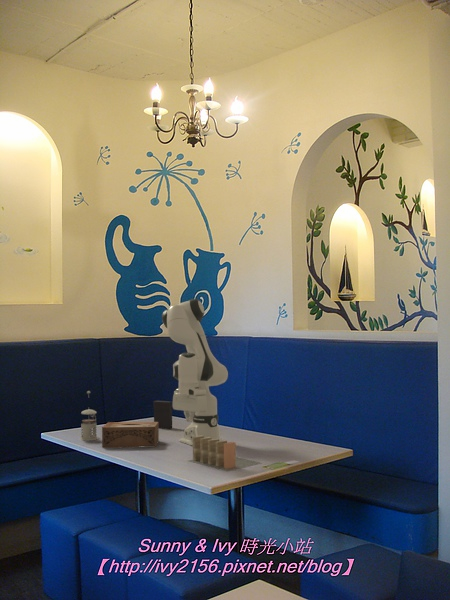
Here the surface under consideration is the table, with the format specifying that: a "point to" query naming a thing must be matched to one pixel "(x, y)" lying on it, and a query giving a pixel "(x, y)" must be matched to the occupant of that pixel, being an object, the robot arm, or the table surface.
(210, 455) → the domino
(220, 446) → the domino
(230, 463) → the end domino
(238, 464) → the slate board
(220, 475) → the table surface
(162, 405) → the black rectangular slab
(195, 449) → the domino
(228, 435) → the table surface
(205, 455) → the domino
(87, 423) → the french press
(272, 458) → the table surface
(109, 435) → the tissue box cover
